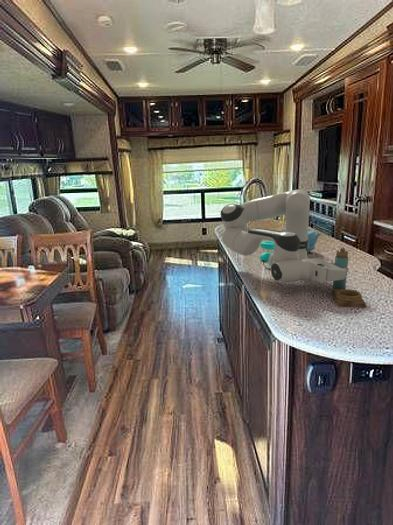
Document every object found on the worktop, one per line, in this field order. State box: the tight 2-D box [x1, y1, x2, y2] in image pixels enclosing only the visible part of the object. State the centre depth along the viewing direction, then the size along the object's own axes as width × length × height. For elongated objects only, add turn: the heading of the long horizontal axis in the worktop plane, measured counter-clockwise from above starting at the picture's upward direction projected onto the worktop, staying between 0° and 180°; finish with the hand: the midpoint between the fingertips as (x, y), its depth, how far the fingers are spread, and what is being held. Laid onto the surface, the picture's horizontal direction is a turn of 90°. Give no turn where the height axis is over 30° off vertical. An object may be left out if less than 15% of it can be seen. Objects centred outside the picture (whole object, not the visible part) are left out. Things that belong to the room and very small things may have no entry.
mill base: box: [330, 288, 367, 309], centre depth 135 cm, size 10×15×3 cm, turn 168°
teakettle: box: [282, 227, 324, 254], centre depth 210 cm, size 19×19×15 cm
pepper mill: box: [332, 247, 350, 289], centre depth 145 cm, size 5×5×18 cm
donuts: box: [259, 240, 275, 262], centre depth 195 cm, size 10×10×10 cm
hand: (342, 267), depth 145 cm, fingers closed on pepper mill, 5 cm apart
